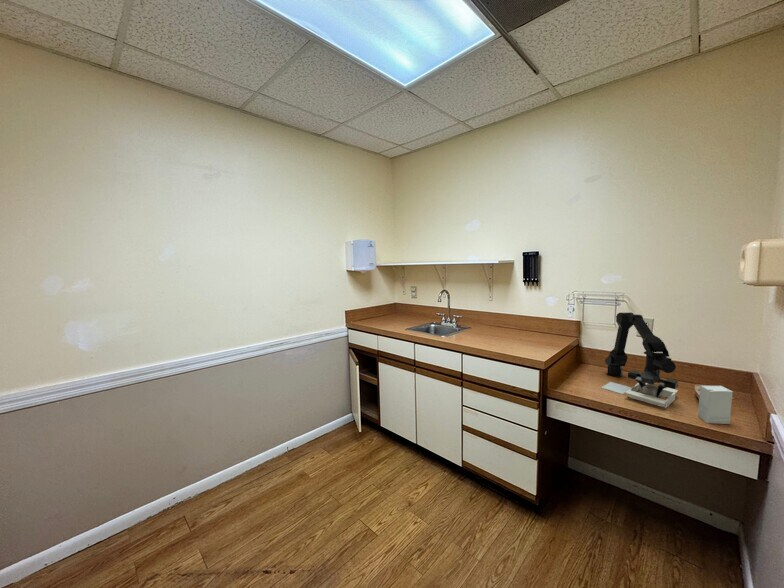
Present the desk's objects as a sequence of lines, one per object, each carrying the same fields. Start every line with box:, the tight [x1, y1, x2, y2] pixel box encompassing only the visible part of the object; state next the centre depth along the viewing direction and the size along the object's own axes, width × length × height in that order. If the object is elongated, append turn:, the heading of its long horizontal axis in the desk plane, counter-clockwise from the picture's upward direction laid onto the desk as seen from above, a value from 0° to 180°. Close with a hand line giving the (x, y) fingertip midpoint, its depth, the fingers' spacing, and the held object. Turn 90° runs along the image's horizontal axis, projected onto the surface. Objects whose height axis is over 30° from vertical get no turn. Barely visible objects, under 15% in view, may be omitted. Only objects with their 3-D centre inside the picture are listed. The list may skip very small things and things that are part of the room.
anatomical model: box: [694, 384, 709, 399], centre depth 150 cm, size 23×10×5 cm, turn 145°
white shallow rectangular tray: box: [624, 382, 679, 409], centre depth 157 cm, size 15×22×4 cm
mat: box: [600, 381, 632, 395], centre depth 169 cm, size 10×12×1 cm
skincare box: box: [697, 385, 734, 425], centre depth 134 cm, size 8×6×15 cm
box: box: [642, 383, 661, 399], centre depth 157 cm, size 5×9×6 cm, turn 125°
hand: (650, 395), depth 156 cm, fingers closed on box, 5 cm apart
